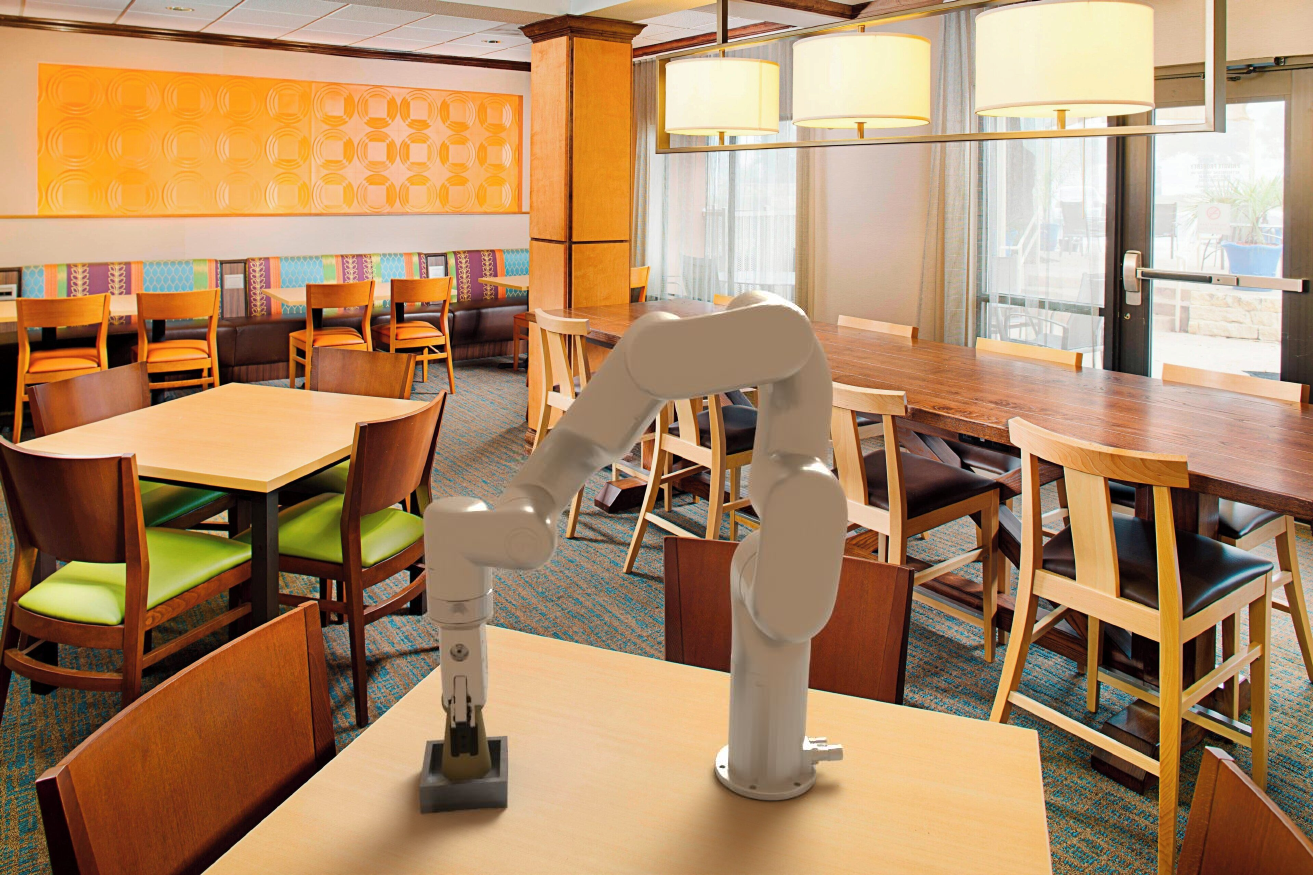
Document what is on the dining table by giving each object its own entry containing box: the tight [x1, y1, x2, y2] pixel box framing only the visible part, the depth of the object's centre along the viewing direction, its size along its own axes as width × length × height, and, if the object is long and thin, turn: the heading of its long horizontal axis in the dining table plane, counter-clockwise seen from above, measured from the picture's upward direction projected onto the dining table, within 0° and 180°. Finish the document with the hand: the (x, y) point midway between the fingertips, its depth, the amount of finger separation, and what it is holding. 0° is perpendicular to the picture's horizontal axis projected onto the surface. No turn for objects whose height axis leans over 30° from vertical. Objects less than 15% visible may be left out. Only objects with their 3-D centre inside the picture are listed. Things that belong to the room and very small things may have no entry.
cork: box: [440, 681, 491, 781], centre depth 118 cm, size 6×6×11 cm
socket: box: [418, 735, 509, 814], centre depth 120 cm, size 10×10×4 cm
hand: (465, 743), depth 119 cm, fingers closed on cork, 3 cm apart
